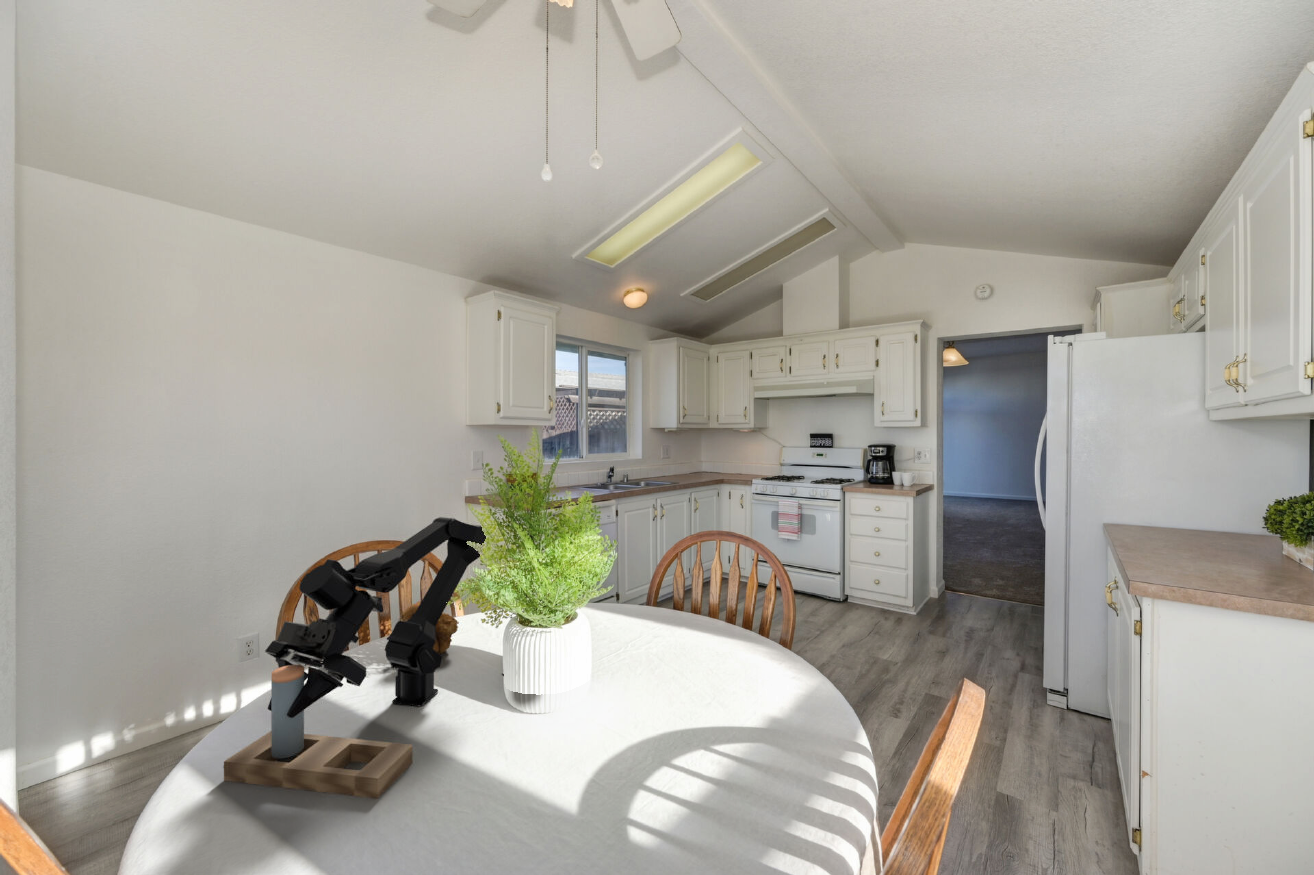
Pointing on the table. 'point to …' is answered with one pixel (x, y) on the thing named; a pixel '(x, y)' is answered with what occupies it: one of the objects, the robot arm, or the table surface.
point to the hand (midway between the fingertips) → (279, 713)
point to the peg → (286, 711)
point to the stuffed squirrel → (436, 628)
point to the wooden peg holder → (323, 765)
